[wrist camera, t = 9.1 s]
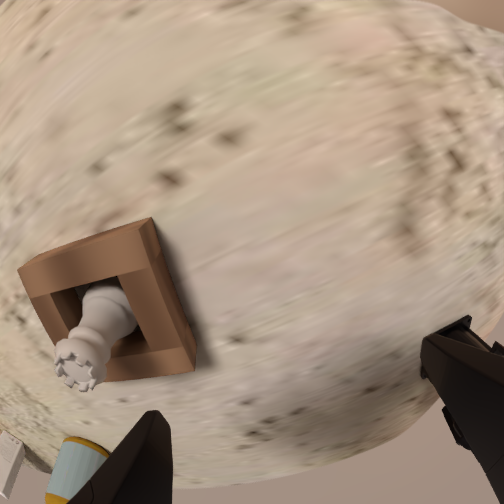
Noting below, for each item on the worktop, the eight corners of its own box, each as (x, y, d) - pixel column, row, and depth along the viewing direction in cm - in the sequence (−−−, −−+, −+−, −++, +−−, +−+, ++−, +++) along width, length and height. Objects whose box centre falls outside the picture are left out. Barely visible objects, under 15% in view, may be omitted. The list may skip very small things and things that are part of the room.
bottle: (101, 465, 27) (85, 548, 12) (59, 441, 24) (33, 524, 10) (121, 456, 25) (106, 552, 11) (74, 428, 23) (44, 527, 9)
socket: (151, 216, 17) (138, 229, 14) (196, 344, 20) (194, 370, 18) (38, 254, 17) (17, 269, 14) (90, 360, 20) (79, 383, 17)
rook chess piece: (156, 305, 19) (129, 386, 11) (120, 336, 20) (88, 412, 12) (112, 260, 18) (58, 323, 10) (79, 296, 18) (28, 362, 11)
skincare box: (3, 428, 24) (-20, 477, 13) (23, 442, 25) (3, 493, 14) (7, 441, 25) (-12, 486, 14) (26, 453, 26) (9, 500, 15)
